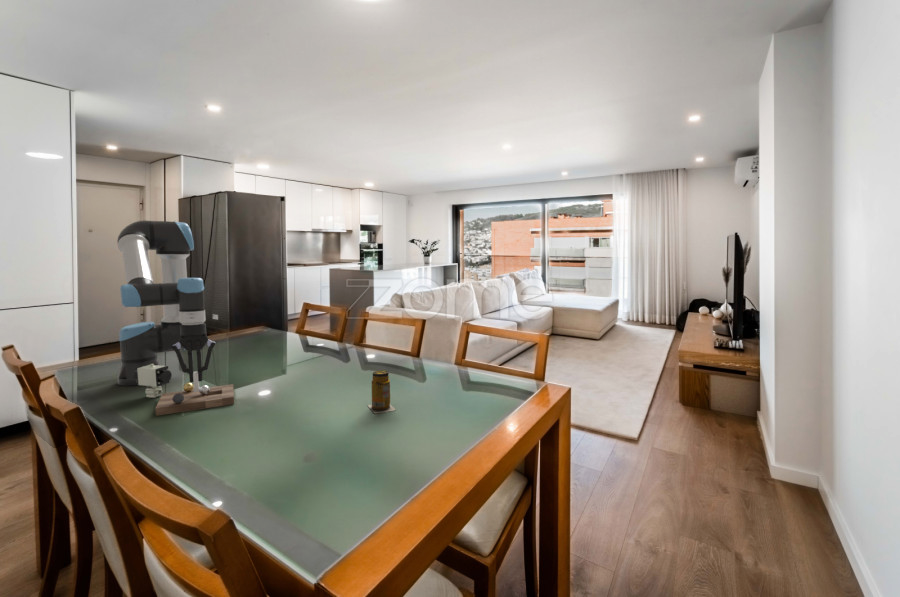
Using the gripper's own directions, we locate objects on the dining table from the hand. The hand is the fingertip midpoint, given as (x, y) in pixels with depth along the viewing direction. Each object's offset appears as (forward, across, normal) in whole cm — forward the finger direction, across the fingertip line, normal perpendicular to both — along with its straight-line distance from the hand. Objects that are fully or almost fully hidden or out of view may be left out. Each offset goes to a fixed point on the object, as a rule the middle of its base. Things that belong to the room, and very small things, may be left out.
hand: (196, 390), depth 142 cm
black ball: (0, -5, -6) cm, 7 cm away
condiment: (+4, +54, -35) cm, 65 cm away
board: (+4, 0, 0) cm, 4 cm away
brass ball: (0, -3, +6) cm, 7 cm away
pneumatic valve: (+4, -14, +15) cm, 21 cm away
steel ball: (0, +2, 0) cm, 2 cm away
